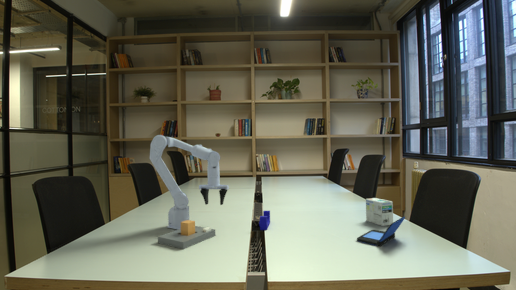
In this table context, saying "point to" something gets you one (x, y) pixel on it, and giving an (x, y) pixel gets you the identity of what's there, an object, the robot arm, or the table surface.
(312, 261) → the table surface
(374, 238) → the handheld game console
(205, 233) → the socket plate
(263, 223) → the cable clip
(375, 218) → the light bulb box
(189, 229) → the plug
